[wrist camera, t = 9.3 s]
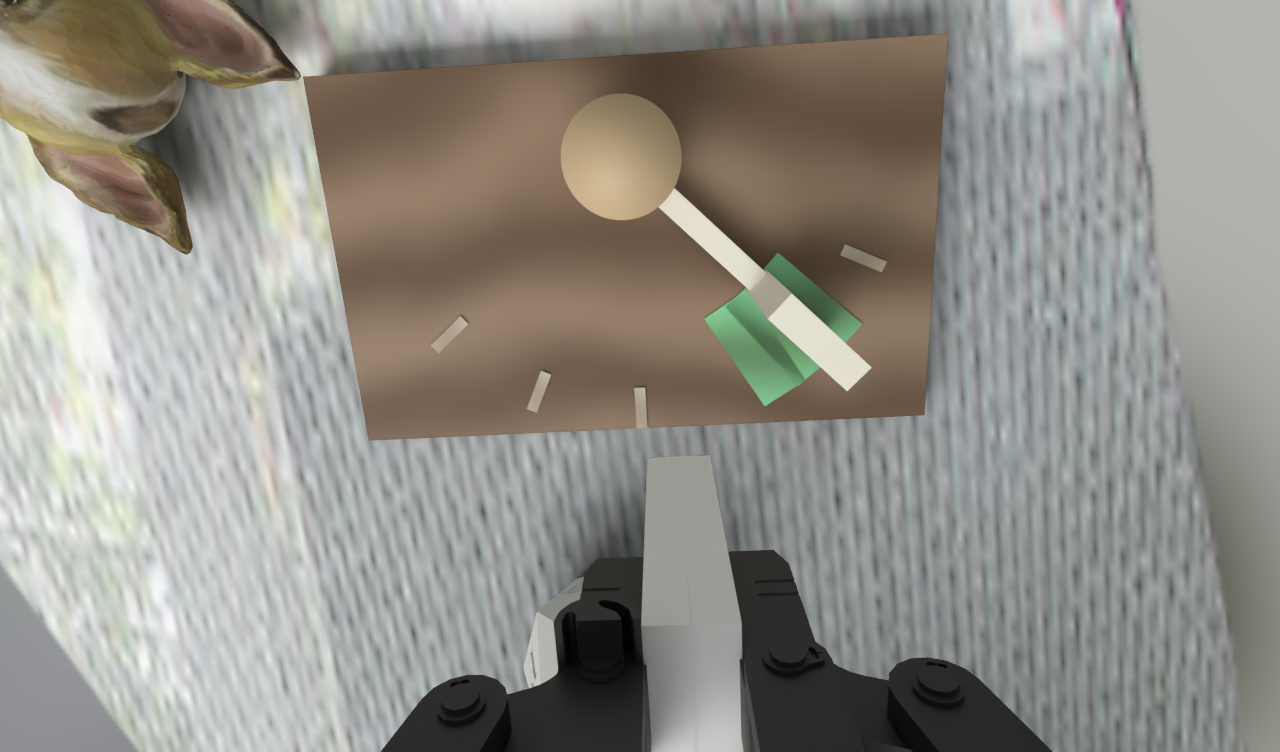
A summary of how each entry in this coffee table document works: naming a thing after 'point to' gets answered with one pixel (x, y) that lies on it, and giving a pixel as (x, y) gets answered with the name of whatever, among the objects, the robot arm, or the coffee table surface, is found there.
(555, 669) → the die
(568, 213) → the dial plate
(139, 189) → the ceramic sculpture
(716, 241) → the knob lever
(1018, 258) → the coffee table surface
